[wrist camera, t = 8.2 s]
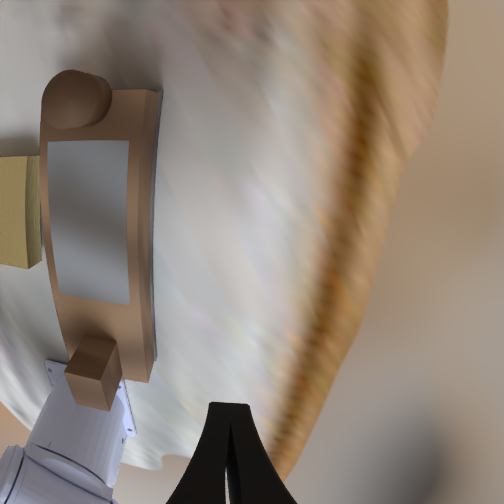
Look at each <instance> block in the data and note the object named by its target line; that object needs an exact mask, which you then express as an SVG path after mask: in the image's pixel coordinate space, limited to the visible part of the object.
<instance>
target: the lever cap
mask: <svg viewBox="0 0 504 504" xmlns="http://www.w3.org/2000/svg"><path fill="white" fill-rule="evenodd" d="M41 261H42V255H41V234H40V176H39V156H12V157H0V264H4V265H9V266H14V267H19V268H25V269H29V268H31V267H32V266H34V265H36V264H37V263H39V262H41Z"/></svg>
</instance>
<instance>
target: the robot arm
mask: <svg viewBox="0 0 504 504" xmlns="http://www.w3.org/2000/svg"><path fill="white" fill-rule="evenodd" d="M44 365H45V368H46V370H47V373H48V375H49V378H50V380H51V383H52V385H53V388H52V390H51V392H50V394H49V396H48V398H47V400H46V402H45V404H44V406H43V408H42V410H41V412H40V415H39V417H38V419H37V421H36V423H35V425H34V427H33V430H32V432H31V434H30V436H29V439H28V441H27V443H26V445H25V447H24V448H22V447H20V446H19V445H14V446H8V447H7V449H6V450H5V452H4V453H3V455H2V457H1V459H0V504H118V503H117V502H116V501H115V500H114V499H112V493H113V489H112V488H111V487H112V486H113V484H114V483H115V481H116V479H117V476H118V471H119V467H120V462H121V458H122V454H123V450H124V445H125V441H126V437H127V436H129V437H136V434H137V433H136V429H135V425H134V422H133V418H132V414H131V410H130V406H129V402H128V397H127V393H126V388H125V384H124V380H123V379H122V378H121V381H120V383H119V386H118V389H117V392H116V395H115V398H114V401H113V404H112V407H111V410H110V412H107V411H103V410H98V409H94V408H90V407H86V406H82V405H79V404H76V403H75V400H74V398H73V395H72V393H71V390H70V388H69V385H68V382H67V380H66V377H65V374H64V371H65V369H66V367H67V365H65V364H61V363H57V362H54V361H50V360H46V361H45V363H44ZM226 471H227V480H228V489H229V499H230V504H297V503H296V501H295V500H294V499H293V497H292V496H291V494H290V493H289V491H288V490H287V489H286V487H285V485H284V484H283V482H282V481H281V479H280V477H279V476H278V474H277V472H276V470H275V469H274V467H273V465H272V463H271V461H270V459H269V457H268V455H267V453H266V451H265V449H264V447H263V444H262V442H261V440H260V437H259V435H258V432H257V430H256V427H255V424H254V421H253V418H252V414H251V410H250V406H249V405H248V404H240V403H223V402H211V403H209V408H208V414H207V418H206V422H205V426H204V429H203V432H202V435H201V437H200V440H199V442H198V445H197V447H196V450H195V452H194V455H193V457H192V459H191V461H190V463H189V465H188V467H187V469H186V471H185V473H184V475H183V477H182V478H181V480H180V482H179V484H178V485H177V487H176V489H175V490H174V492H173V494H172V495H171V497H170V498H169V500H168V501H167V503H166V504H226V496H225V472H226Z"/></svg>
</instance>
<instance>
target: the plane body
mask: <svg viewBox="0 0 504 504" xmlns="http://www.w3.org/2000/svg"><path fill="white" fill-rule="evenodd" d="M162 98H163V91H162V90H147V89H123V90H111V88H110V85H109V84H108V82H107V81H106V80H105V79H103V78H101V77H99V76H95V75H92V74H88V73H84V72H81V71H77V70H66V71H63V72H61V73H59V74H57V75H56V76H55V77H53V78H52V80H51V81H50V82H49V83H48V85H47V86H46V88H45V90H44V93H43V97H42V104H41V106H42V109H41V122H40V146H39V176H40V200H41V214H42V226H43V235H44V243H45V251H46V258H47V265H48V271H49V277H50V282H51V288H52V293H53V298H54V302H55V307H56V311H57V316H58V320H59V324H60V328H61V332H62V335H63V339H64V343H65V346H66V350H67V353H68V356H69V360H70V361H69V363H68V365H67V367H66V369H65V371H64V374H65V377H66V380H67V382H68V385H69V388H70V390H71V393H72V395H73V398H74V400H75V403H76V404H79V405H82V406H86V407H90V408H94V409H98V410H103V411H107V412H110V410H111V407H112V404H113V401H114V398H115V395H116V392H117V389H118V386H119V383H120V381H121V378H122V379H127V380H133V381H139V382H145V383H148V381H149V378H150V374H151V370H152V367H153V363H154V361H156V359H157V349H156V334H155V315H154V287H153V221H154V193H155V174H156V159H157V146H158V135H159V124H160V115H161V106H162Z"/></svg>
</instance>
